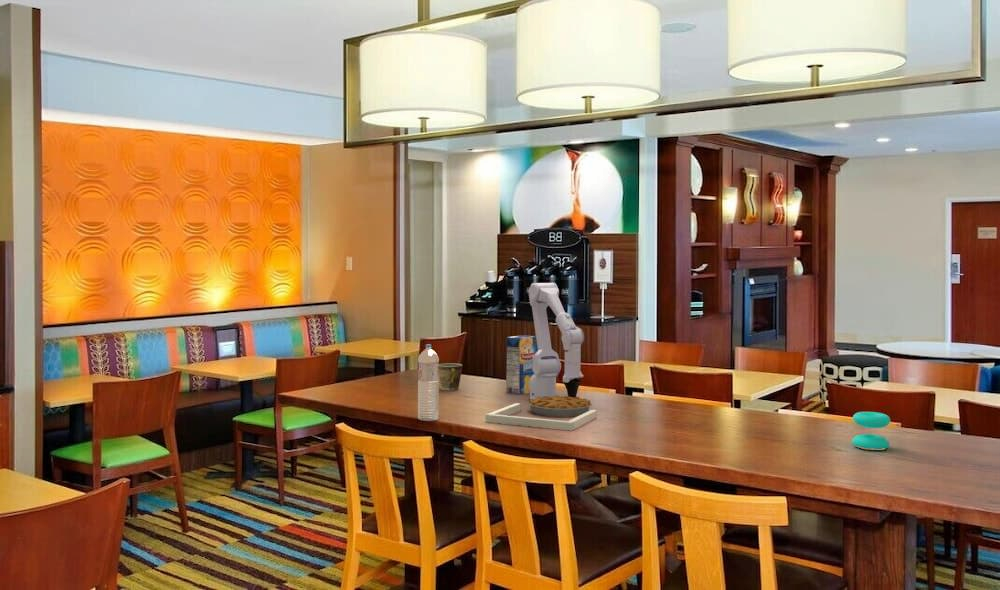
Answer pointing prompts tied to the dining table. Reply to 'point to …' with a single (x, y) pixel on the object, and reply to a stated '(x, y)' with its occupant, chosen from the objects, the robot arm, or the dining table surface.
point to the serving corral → (537, 419)
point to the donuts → (871, 422)
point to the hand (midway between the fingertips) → (572, 399)
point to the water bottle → (428, 385)
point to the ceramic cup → (449, 375)
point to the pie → (559, 406)
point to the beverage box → (520, 363)
